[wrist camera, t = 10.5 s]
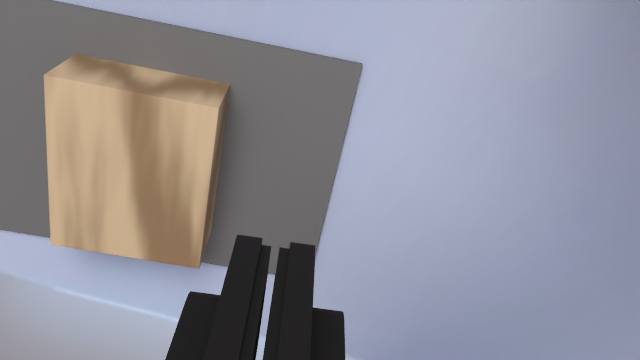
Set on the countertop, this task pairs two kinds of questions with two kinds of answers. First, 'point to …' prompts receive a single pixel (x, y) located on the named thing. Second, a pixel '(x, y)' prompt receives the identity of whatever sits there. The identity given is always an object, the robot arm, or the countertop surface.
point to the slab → (132, 159)
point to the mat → (240, 124)
